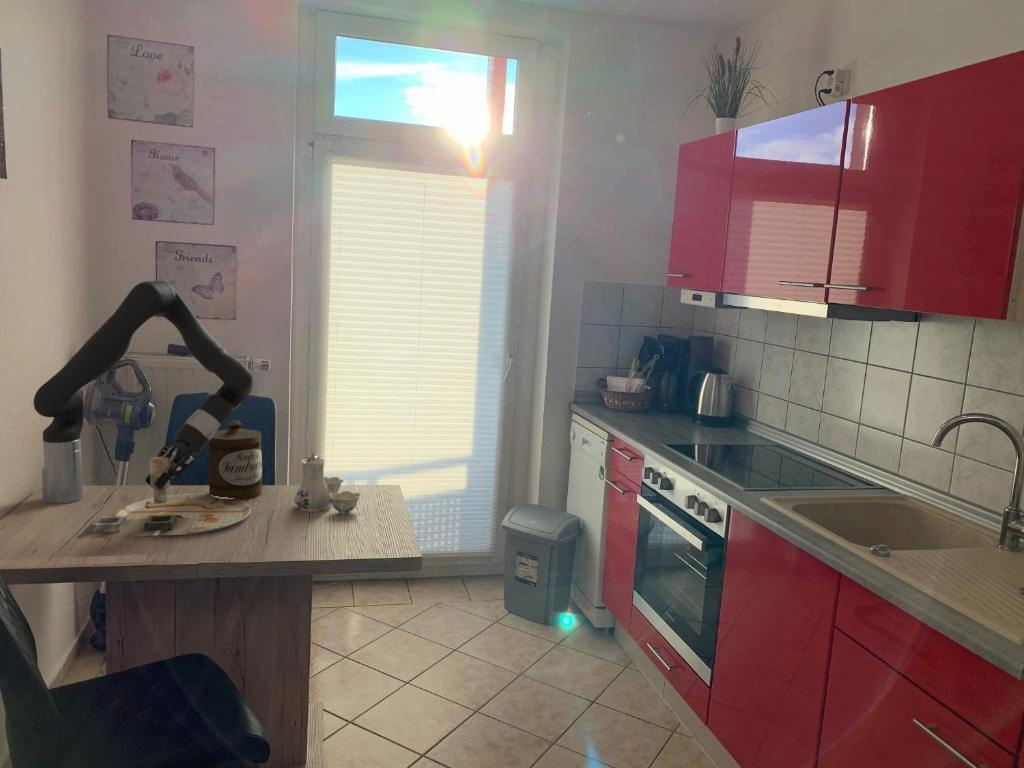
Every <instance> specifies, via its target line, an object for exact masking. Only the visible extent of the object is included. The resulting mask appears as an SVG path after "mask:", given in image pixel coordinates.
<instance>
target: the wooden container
mask: <svg viewBox="0 0 1024 768" xmlns="http://www.w3.org/2000/svg"><path fill="white" fill-rule="evenodd" d="M241 426H242V423H241V422H240V421H239V420H231V421H230V422H229V423H228V427H229V429H222V430H217V432H216V433H215V435H214V436H213V437H212V438H211V439H210V441H209V442H208V445H209V447H208V448H209V449H208V450H209V455H208V456H209V458H208V462H209V463H208V464H209V465H208V482H209V486H208V487H209V493H208V494H209V496H210V495H213V496H219V497H228V498H234V499H238V500H248V499H252V498H256V497H258V496H259V495H261V494H262V493H263V459H262V452H263V450H262V432H260V431H259V430H254V429H247V428H241ZM238 500H237V501H238Z"/></svg>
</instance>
